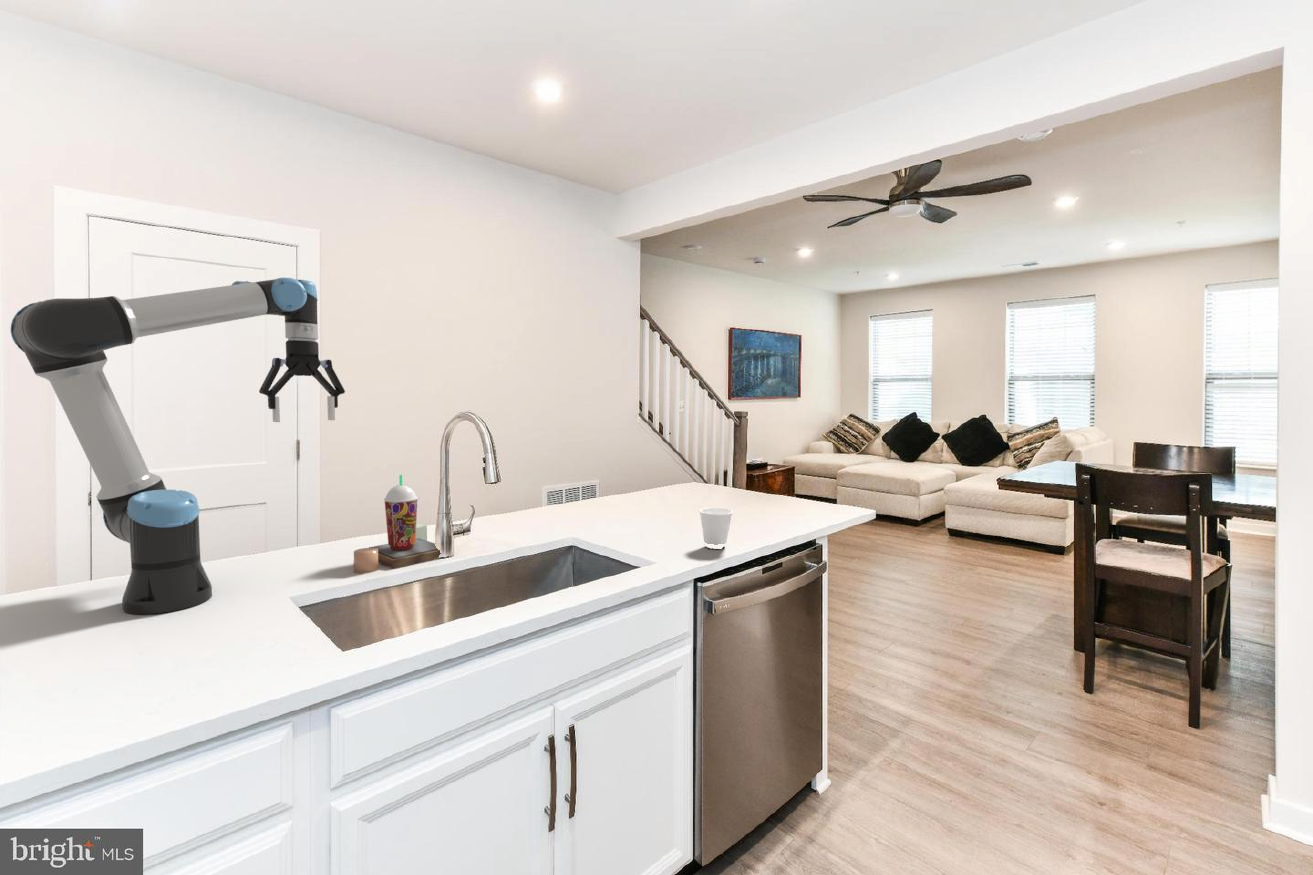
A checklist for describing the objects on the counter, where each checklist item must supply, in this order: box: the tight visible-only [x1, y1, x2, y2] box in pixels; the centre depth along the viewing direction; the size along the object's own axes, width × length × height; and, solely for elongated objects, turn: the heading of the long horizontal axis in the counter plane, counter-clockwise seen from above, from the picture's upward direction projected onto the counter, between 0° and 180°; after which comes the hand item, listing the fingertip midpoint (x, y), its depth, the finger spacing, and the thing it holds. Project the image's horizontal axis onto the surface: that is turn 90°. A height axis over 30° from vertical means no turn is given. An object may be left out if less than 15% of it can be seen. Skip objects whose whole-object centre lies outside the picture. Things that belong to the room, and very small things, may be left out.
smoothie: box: [383, 474, 419, 551], centre depth 170 cm, size 8×8×20 cm
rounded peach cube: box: [353, 547, 379, 574], centre depth 159 cm, size 6×6×5 cm
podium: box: [368, 538, 441, 570], centre depth 172 cm, size 16×16×3 cm
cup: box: [698, 507, 734, 545], centre depth 186 cm, size 10×10×11 cm
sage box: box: [416, 523, 428, 541], centre depth 187 cm, size 5×5×5 cm
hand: (304, 421), depth 168 cm, fingers open, 13 cm apart
